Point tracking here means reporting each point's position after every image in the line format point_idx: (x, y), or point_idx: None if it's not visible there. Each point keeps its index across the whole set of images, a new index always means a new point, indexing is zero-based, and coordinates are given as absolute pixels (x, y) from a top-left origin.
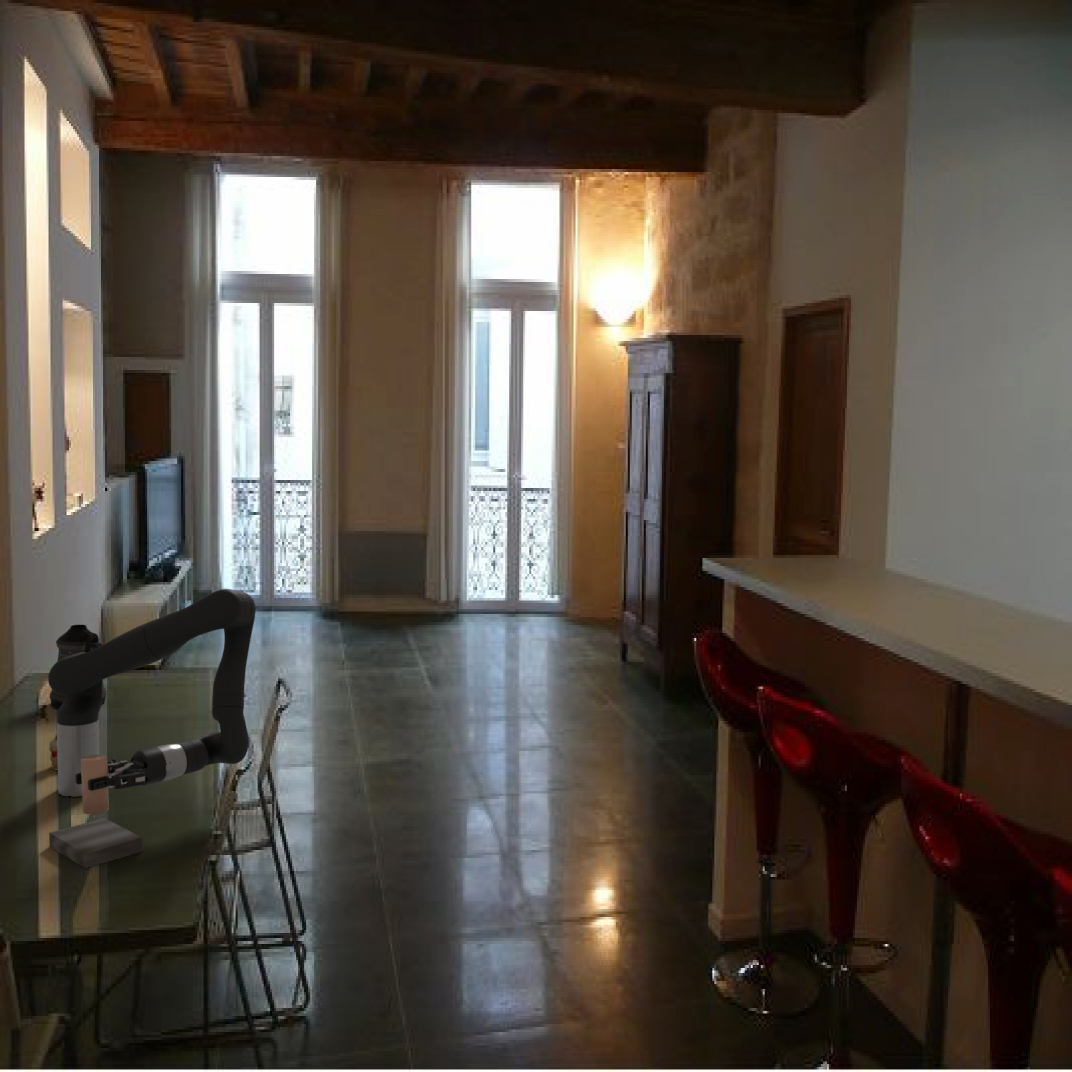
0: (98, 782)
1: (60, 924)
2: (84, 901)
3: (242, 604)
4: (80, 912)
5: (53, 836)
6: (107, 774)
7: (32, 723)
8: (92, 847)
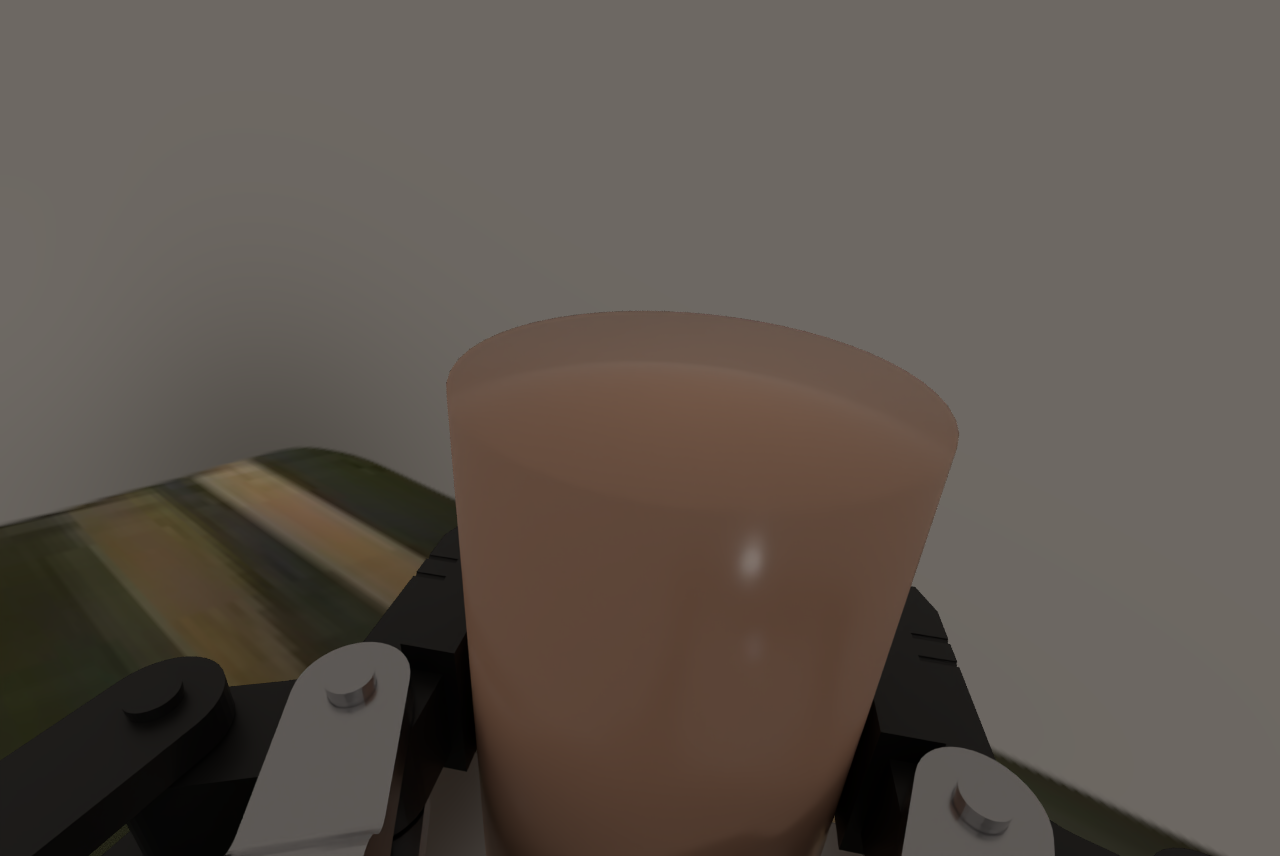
0: (433, 560)
1: (227, 501)
2: (224, 599)
3: None
4: (196, 554)
5: None
6: (503, 751)
7: None
8: (450, 832)
